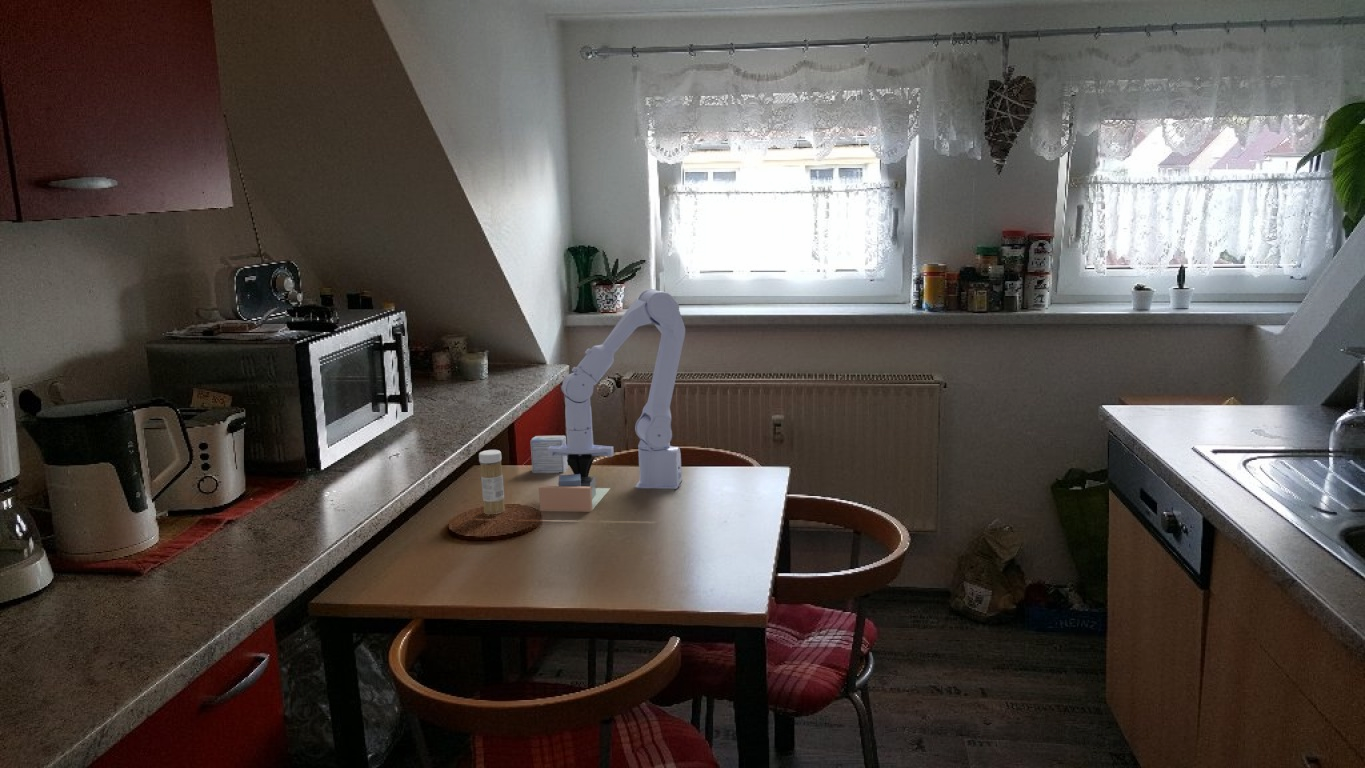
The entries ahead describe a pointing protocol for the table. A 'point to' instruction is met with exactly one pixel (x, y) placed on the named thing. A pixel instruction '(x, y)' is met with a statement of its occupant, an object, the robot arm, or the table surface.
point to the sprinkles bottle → (492, 481)
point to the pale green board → (569, 498)
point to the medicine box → (541, 458)
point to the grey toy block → (589, 484)
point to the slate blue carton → (570, 480)
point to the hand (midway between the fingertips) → (582, 487)
